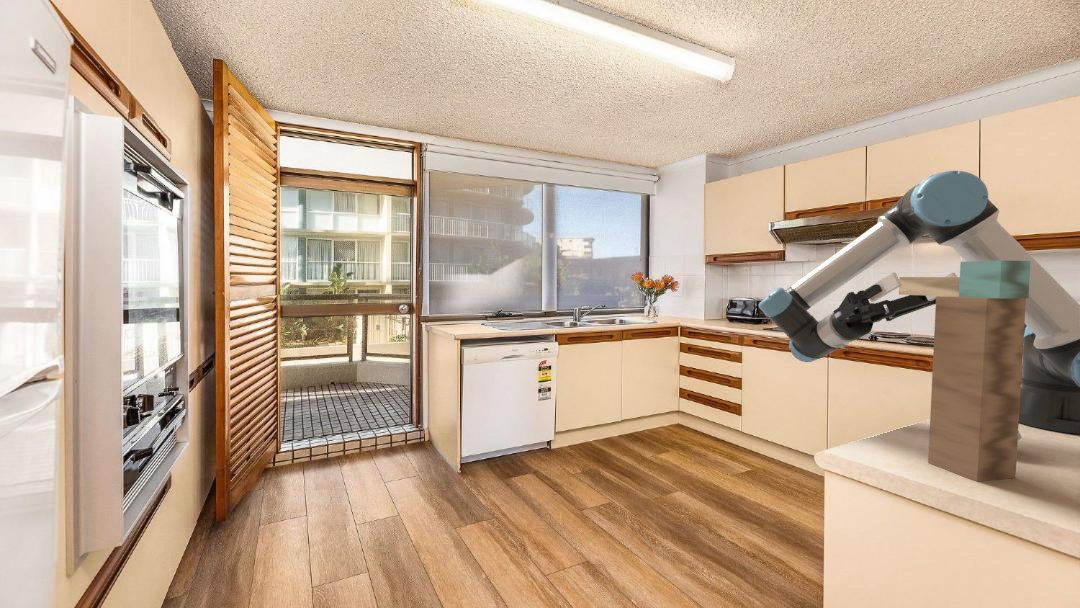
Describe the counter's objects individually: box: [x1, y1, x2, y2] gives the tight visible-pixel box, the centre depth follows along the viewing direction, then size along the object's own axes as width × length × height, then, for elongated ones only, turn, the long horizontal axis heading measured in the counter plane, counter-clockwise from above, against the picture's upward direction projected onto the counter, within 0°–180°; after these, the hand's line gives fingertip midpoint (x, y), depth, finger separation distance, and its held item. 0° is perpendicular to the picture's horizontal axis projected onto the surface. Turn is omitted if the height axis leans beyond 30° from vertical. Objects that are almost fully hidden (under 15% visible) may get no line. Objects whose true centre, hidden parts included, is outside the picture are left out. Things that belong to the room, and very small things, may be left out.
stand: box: [927, 296, 1026, 482], centre depth 81 cm, size 8×8×30 cm
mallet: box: [898, 261, 1031, 299], centre depth 84 cm, size 6×18×6 cm, turn 12°
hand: (927, 278), depth 89 cm, fingers open, 13 cm apart
